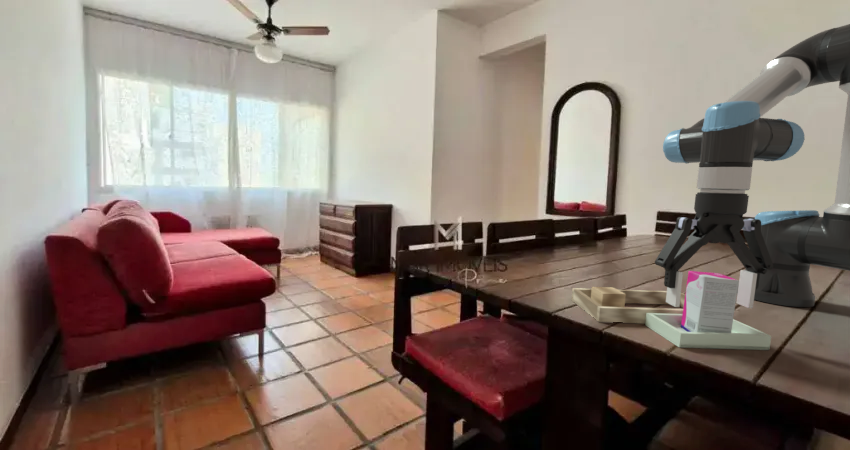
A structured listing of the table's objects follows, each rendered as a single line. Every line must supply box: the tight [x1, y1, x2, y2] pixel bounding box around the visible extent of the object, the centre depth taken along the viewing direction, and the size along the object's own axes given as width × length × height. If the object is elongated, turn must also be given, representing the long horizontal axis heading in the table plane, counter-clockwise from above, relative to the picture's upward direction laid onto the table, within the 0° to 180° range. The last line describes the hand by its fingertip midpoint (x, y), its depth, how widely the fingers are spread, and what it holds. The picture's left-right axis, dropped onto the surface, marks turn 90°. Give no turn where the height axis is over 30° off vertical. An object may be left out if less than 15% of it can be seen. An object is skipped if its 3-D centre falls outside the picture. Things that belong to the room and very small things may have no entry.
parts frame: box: [571, 287, 685, 324], centre depth 83 cm, size 26×14×3 cm, turn 90°
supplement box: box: [681, 270, 739, 333], centre depth 69 cm, size 6×6×12 cm
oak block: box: [590, 286, 626, 307], centre depth 82 cm, size 5×5×5 cm
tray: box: [644, 313, 772, 351], centre depth 70 cm, size 16×10×3 cm, turn 90°
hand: (708, 305), depth 69 cm, fingers open, 13 cm apart
